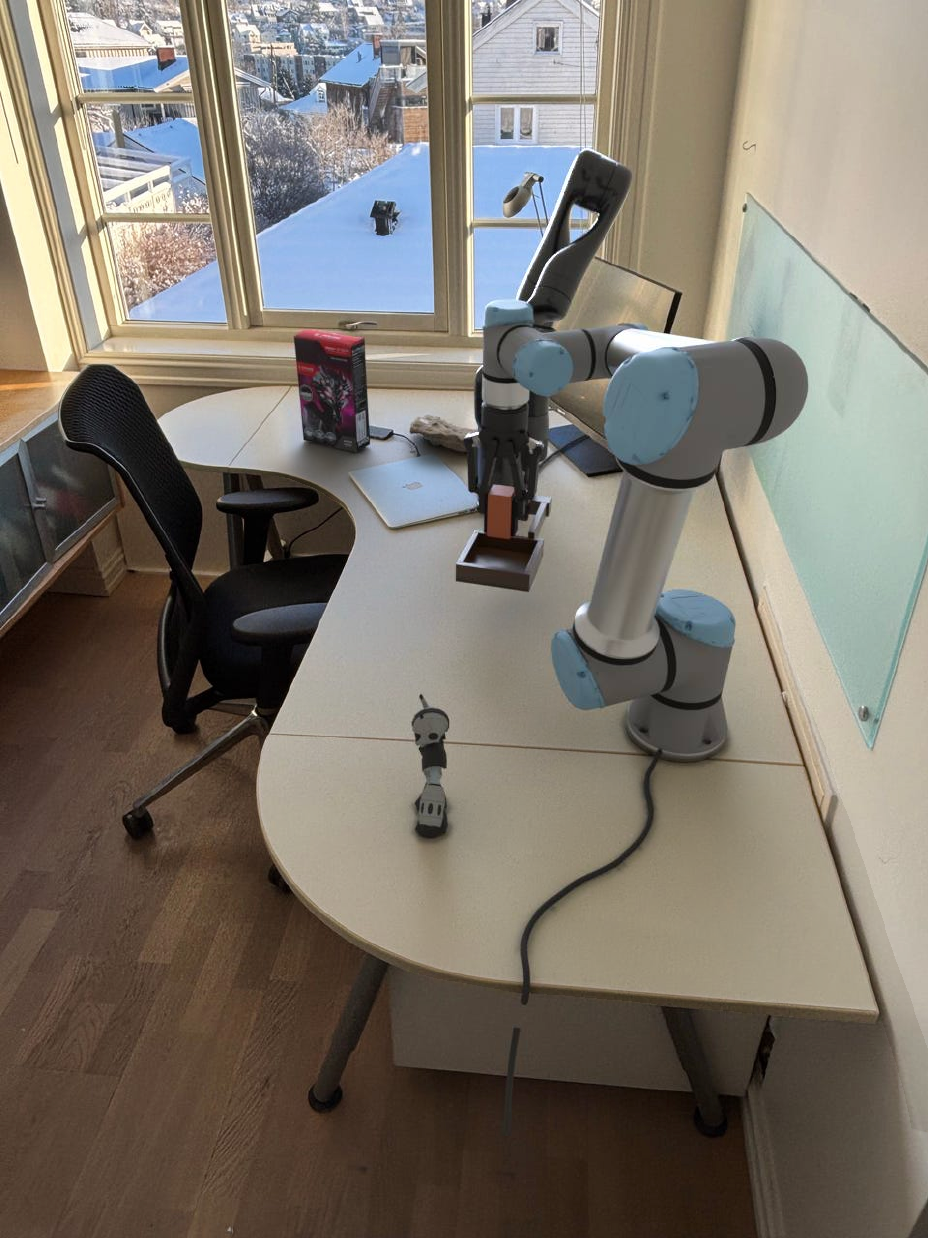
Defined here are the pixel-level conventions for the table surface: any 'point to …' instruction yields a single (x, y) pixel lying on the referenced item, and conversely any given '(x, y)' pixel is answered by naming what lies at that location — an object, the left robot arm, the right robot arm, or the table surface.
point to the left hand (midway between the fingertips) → (524, 516)
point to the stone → (441, 432)
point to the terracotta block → (500, 511)
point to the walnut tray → (505, 554)
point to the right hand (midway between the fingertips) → (500, 530)
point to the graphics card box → (333, 389)
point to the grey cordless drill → (431, 769)
